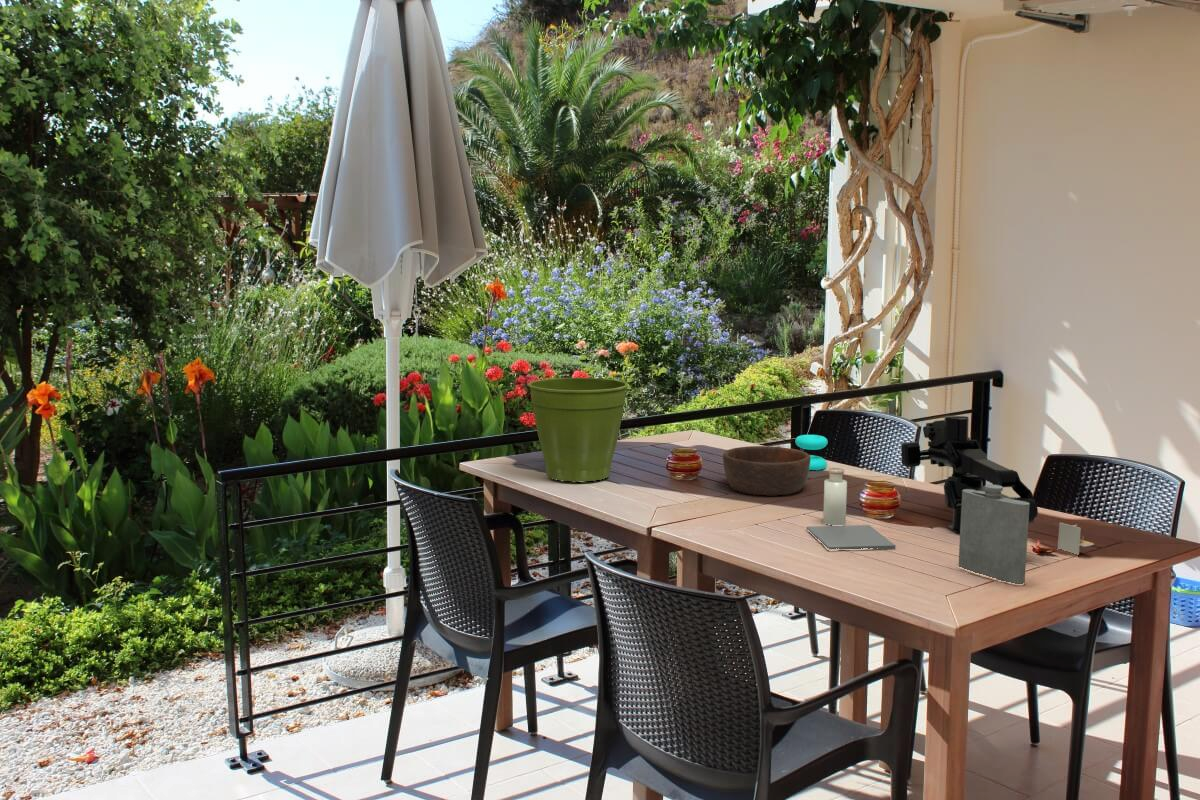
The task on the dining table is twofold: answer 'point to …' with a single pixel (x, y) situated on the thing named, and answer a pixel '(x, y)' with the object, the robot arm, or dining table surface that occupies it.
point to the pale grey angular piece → (1070, 538)
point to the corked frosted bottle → (835, 498)
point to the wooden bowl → (766, 470)
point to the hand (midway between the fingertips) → (921, 447)
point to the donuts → (813, 444)
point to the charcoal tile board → (850, 537)
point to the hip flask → (993, 534)
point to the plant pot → (578, 425)
